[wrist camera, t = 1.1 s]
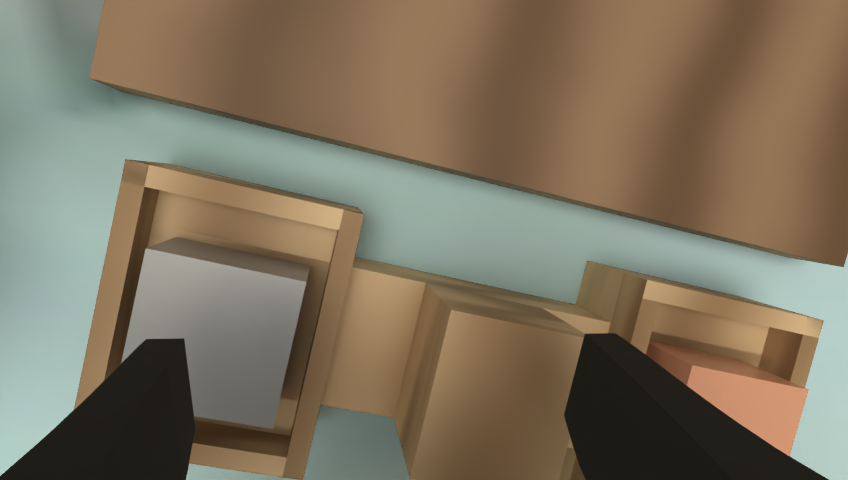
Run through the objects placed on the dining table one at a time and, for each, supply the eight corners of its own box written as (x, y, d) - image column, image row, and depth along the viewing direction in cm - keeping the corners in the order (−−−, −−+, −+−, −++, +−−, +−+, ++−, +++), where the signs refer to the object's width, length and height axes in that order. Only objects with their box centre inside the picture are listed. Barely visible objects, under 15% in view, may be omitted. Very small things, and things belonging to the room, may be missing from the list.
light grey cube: (310, 265, 18) (306, 281, 15) (281, 389, 19) (272, 429, 16) (176, 236, 18) (145, 248, 15) (148, 365, 18) (113, 402, 15)
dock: (874, -38, 23) (937, -63, 21) (791, 257, 24) (843, 267, 22) (194, -283, 19) (174, -352, 16) (119, 90, 20) (88, 77, 17)
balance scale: (733, 294, 24) (894, 340, 17) (681, 482, 25) (818, 599, 18) (170, 164, 20) (87, 155, 13) (123, 388, 21) (19, 492, 14)
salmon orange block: (741, 360, 21) (808, 390, 18) (711, 467, 21) (772, 513, 18) (639, 338, 20) (692, 365, 17) (610, 449, 21) (656, 494, 18)
